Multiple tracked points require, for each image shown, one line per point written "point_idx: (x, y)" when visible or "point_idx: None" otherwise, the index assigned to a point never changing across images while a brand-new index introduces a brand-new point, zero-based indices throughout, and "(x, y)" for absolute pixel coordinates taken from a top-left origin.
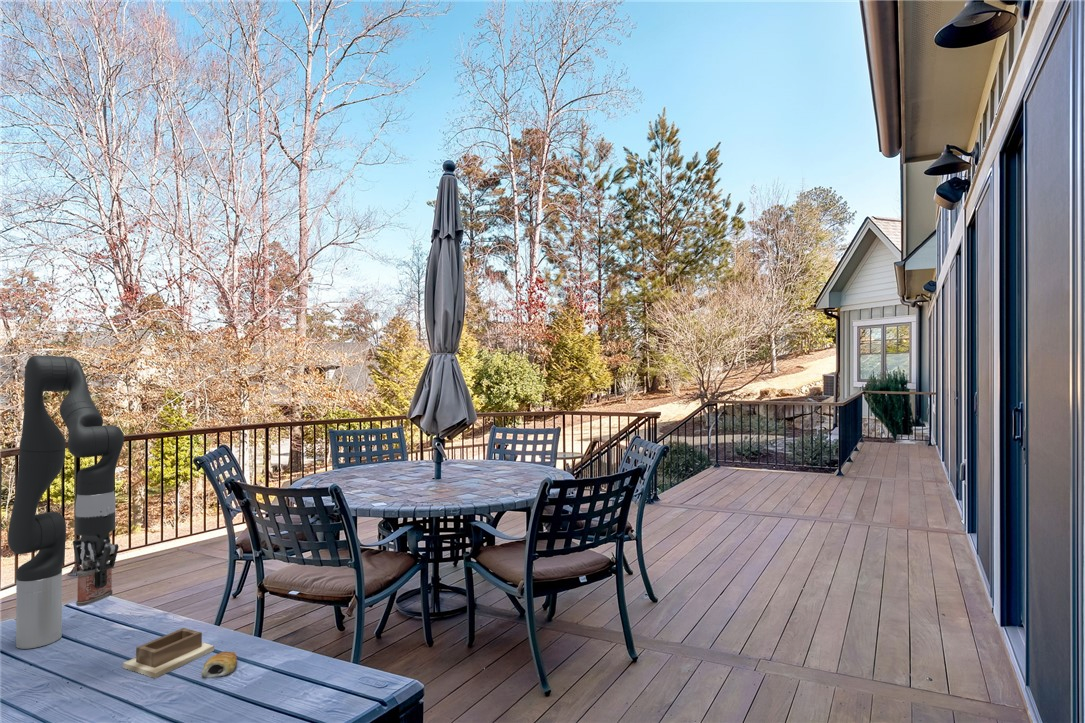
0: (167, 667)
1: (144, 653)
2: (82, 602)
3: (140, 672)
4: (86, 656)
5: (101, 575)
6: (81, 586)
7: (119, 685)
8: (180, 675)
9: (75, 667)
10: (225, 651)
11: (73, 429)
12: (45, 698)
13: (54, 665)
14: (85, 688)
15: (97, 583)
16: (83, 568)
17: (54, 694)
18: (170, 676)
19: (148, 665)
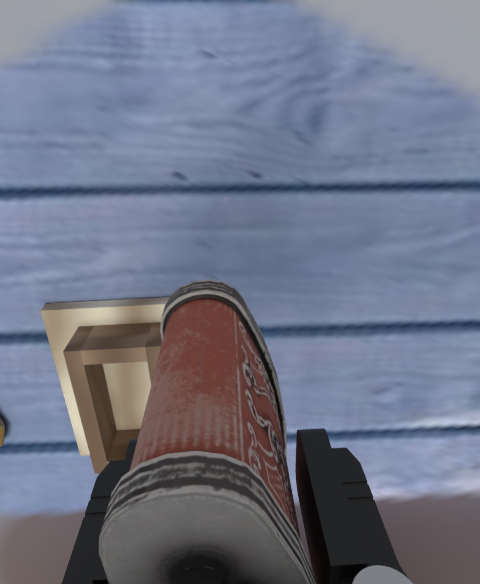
0: (50, 343)
1: (120, 342)
2: (169, 307)
3: (113, 301)
4: (380, 286)
5: (71, 564)
6: (163, 381)
7: (90, 236)
8: (6, 341)
9: (338, 235)
10: None
11: None
12: (204, 79)
13: (416, 213)
14: (161, 178)
15: (123, 473)
16: (361, 580)
17: (207, 109)
18: (23, 327)
19: (107, 325)
